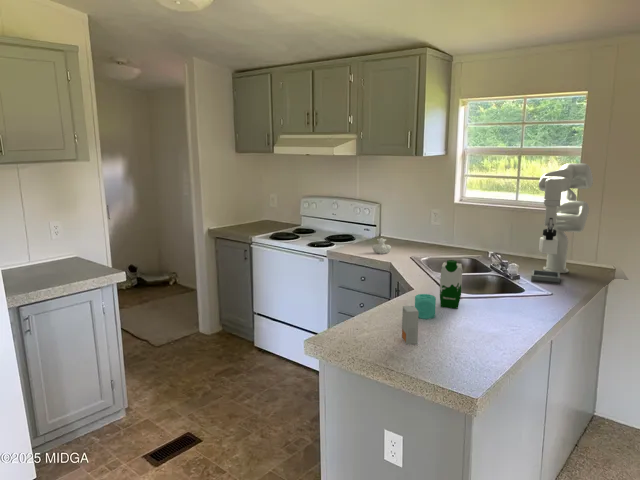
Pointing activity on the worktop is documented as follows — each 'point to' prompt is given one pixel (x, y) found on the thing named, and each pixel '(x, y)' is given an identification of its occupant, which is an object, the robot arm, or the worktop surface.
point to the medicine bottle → (548, 244)
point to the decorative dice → (425, 306)
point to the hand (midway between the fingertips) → (549, 238)
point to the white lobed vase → (381, 247)
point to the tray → (545, 276)
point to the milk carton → (450, 284)
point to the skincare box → (410, 325)
